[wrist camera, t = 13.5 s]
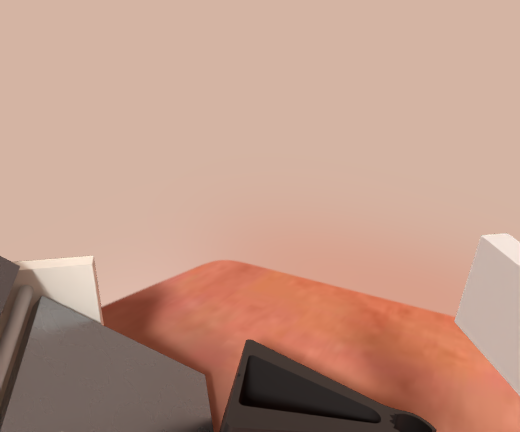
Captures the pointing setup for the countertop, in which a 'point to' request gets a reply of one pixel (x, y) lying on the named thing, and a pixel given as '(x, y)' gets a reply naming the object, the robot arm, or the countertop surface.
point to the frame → (52, 287)
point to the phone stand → (303, 400)
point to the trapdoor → (94, 378)
